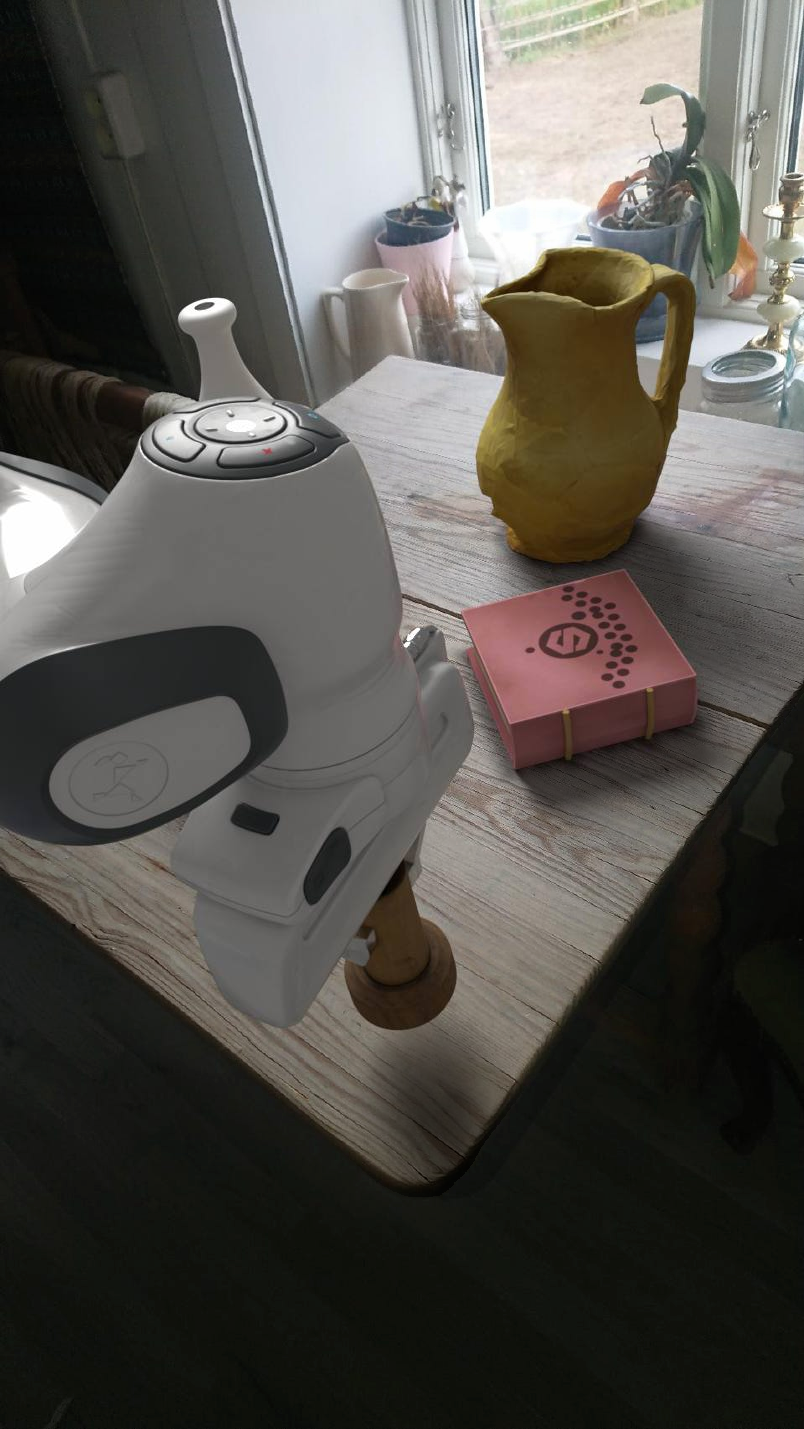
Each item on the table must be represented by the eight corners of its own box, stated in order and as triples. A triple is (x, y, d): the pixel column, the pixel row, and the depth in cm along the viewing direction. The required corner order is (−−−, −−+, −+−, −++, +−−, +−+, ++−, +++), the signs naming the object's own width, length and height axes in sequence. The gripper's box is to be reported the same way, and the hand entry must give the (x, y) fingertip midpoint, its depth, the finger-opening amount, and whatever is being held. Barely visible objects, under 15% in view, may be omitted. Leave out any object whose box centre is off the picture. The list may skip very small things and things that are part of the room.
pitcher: (498, 475, 105) (488, 233, 87) (677, 485, 100) (706, 231, 82) (462, 575, 94) (443, 321, 76) (662, 592, 89) (691, 325, 71)
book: (517, 778, 74) (513, 732, 71) (466, 655, 85) (460, 610, 82) (697, 730, 75) (701, 682, 71) (624, 614, 86) (624, 568, 82)
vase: (186, 606, 97) (94, 365, 80) (197, 513, 110) (119, 288, 92) (358, 575, 96) (303, 325, 79) (349, 485, 109) (299, 253, 92)
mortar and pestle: (381, 921, 62) (319, 724, 50) (474, 951, 60) (434, 752, 47) (331, 1010, 58) (252, 821, 46) (429, 1048, 56) (372, 858, 43)
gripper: (382, 595, 52) (418, 770, 61) (142, 889, 40) (233, 1050, 50) (489, 618, 49) (510, 797, 59) (266, 941, 37) (337, 1100, 47)
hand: (382, 915), depth 54 cm, fingers closed on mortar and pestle, 4 cm apart
